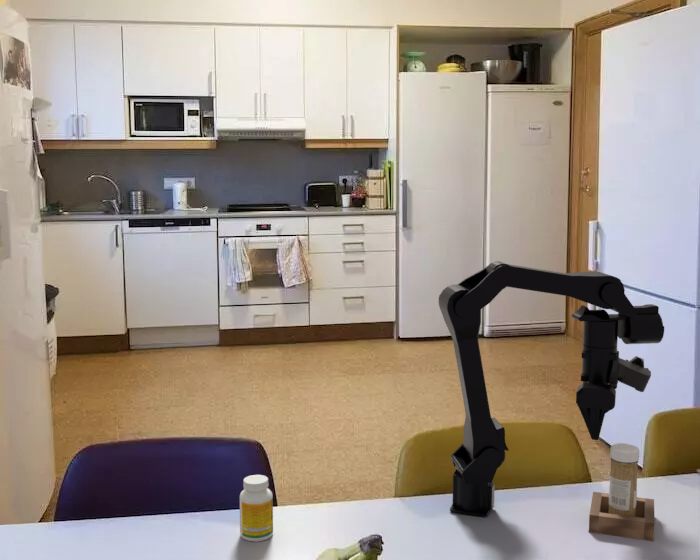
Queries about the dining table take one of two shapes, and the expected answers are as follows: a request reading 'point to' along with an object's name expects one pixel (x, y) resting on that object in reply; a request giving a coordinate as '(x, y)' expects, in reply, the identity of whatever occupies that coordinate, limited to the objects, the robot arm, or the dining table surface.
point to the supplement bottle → (256, 509)
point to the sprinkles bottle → (623, 479)
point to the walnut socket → (622, 519)
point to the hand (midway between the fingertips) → (596, 431)
